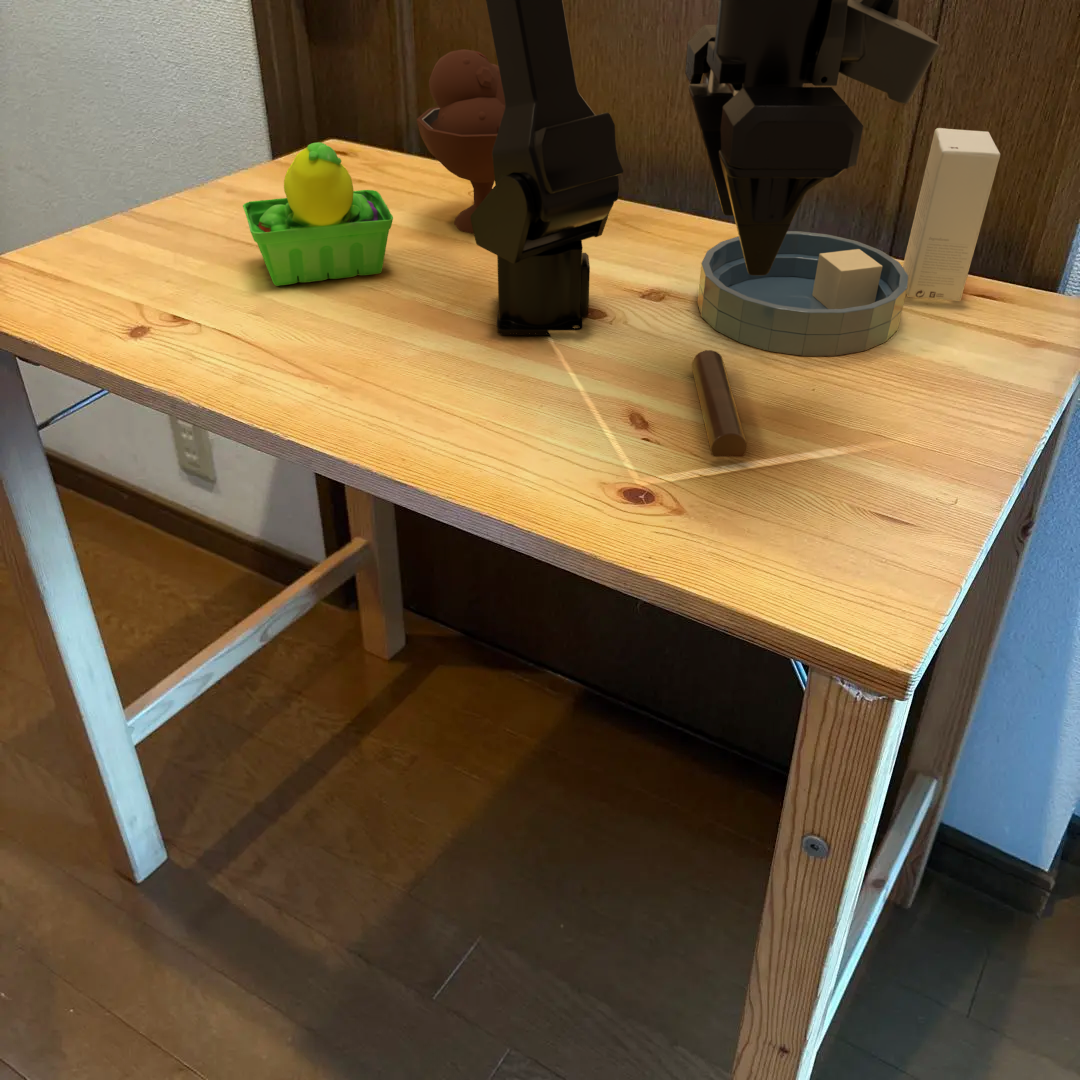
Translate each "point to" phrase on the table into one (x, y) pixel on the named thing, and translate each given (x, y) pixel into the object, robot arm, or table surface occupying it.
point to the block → (846, 279)
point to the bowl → (796, 299)
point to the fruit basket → (320, 223)
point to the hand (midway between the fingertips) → (744, 242)
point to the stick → (718, 405)
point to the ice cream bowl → (465, 121)
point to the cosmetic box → (949, 213)
